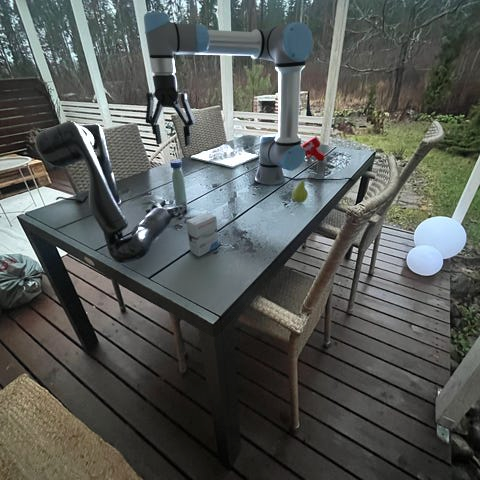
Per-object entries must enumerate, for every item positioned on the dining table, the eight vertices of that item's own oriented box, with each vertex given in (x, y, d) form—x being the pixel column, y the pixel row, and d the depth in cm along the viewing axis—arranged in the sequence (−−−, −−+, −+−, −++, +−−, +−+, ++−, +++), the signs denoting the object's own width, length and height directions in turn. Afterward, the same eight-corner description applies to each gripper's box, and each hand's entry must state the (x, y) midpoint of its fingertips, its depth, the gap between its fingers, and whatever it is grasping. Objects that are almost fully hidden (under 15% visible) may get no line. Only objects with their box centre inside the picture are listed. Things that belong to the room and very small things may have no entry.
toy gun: (328, 156, 170) (316, 135, 166) (328, 158, 166) (315, 136, 162) (303, 171, 180) (291, 152, 176) (302, 173, 176) (290, 153, 172)
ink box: (209, 241, 95) (207, 210, 88) (218, 246, 92) (217, 215, 85) (189, 251, 90) (185, 219, 83) (198, 257, 87) (195, 225, 80)
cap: (181, 164, 107) (181, 159, 106) (182, 168, 103) (181, 162, 102) (170, 165, 106) (169, 160, 105) (171, 169, 102) (170, 163, 101)
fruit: (288, 200, 123) (290, 174, 116) (302, 197, 125) (305, 172, 119) (296, 206, 118) (299, 179, 111) (310, 203, 120) (314, 177, 114)
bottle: (187, 208, 117) (181, 160, 106) (188, 212, 113) (182, 163, 102) (176, 209, 116) (169, 161, 105) (177, 214, 112) (169, 164, 101)
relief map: (232, 167, 162) (232, 159, 160) (191, 158, 180) (190, 150, 177) (257, 157, 181) (258, 149, 178) (218, 149, 198) (217, 142, 196)
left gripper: (173, 215, 90) (190, 195, 103) (134, 211, 92) (156, 192, 106) (176, 234, 94) (192, 213, 107) (138, 230, 96) (159, 209, 110)
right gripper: (201, 74, 89) (206, 143, 101) (137, 74, 93) (149, 140, 105) (193, 74, 83) (199, 148, 95) (125, 74, 87) (139, 145, 99)
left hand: (174, 202), depth 106 cm, fingers open, 8 cm apart
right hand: (173, 144), depth 100 cm, fingers open, 10 cm apart
